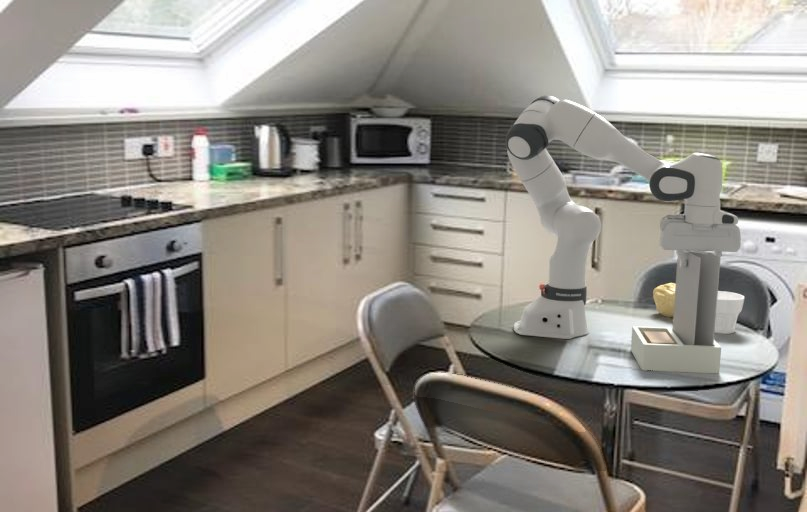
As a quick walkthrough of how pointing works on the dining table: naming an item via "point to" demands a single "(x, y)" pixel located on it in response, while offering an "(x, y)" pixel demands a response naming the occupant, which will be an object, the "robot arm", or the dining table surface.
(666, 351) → the divided tray
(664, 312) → the yellow rounded lump
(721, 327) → the cup
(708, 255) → the brochure
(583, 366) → the dining table surface
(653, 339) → the offcut top
